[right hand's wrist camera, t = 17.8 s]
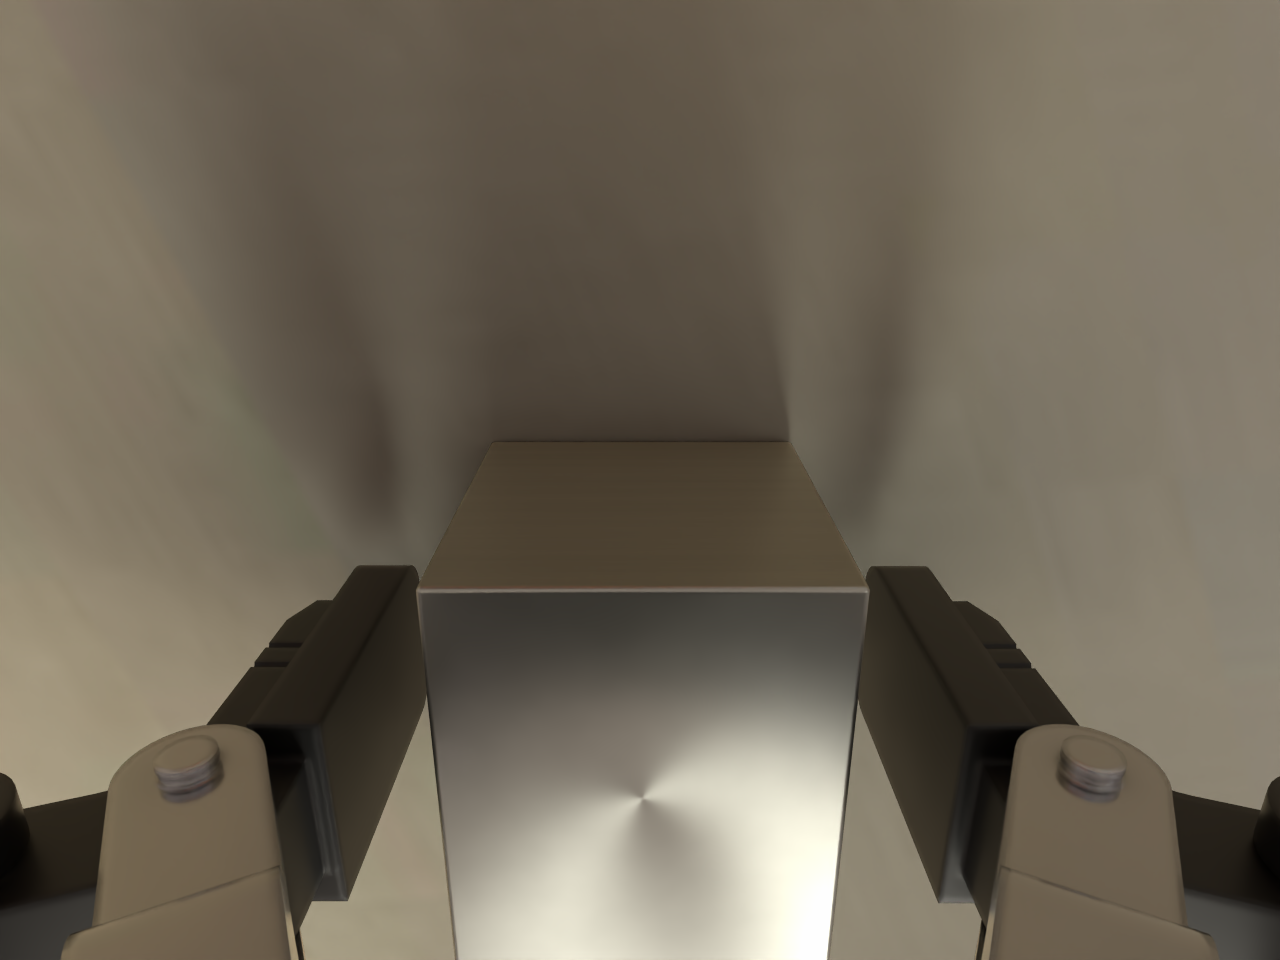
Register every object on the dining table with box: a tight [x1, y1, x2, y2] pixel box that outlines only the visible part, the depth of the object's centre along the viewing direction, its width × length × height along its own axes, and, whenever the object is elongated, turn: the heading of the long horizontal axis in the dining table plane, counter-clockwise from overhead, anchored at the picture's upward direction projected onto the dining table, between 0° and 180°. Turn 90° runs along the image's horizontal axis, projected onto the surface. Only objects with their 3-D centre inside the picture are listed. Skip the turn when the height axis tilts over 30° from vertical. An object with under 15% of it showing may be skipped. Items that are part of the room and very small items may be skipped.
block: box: [416, 442, 870, 960], centre depth 10 cm, size 4×5×4 cm
